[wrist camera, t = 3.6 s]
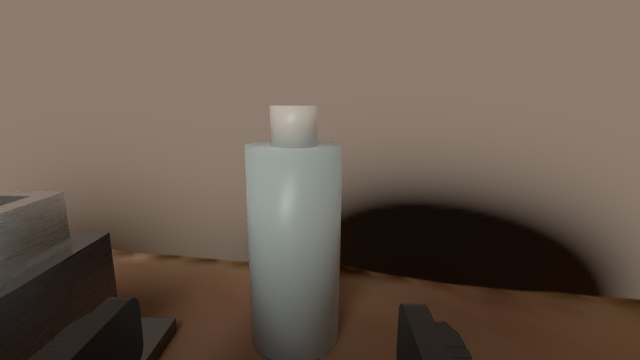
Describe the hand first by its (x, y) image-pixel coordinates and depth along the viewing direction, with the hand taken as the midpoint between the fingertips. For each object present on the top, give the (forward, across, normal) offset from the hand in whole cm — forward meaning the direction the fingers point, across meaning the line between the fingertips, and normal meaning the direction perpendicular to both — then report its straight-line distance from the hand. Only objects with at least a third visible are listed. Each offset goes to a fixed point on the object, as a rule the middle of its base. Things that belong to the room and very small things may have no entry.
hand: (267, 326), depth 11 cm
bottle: (+9, 0, +7) cm, 11 cm away
